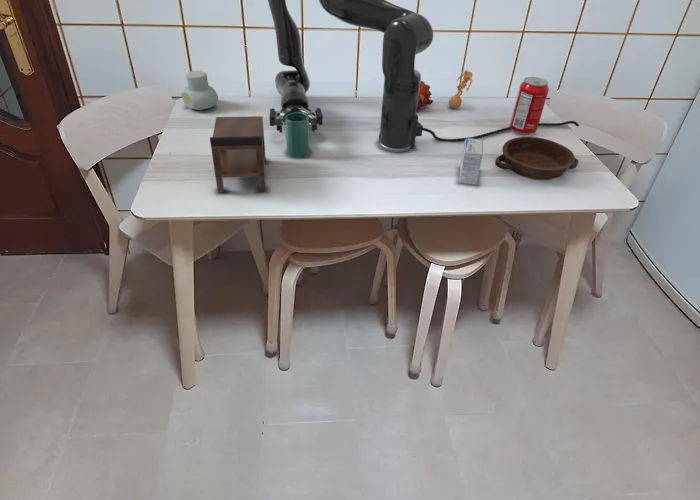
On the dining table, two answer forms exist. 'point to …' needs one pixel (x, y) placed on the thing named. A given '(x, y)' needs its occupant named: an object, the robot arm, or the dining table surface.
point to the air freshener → (198, 91)
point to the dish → (536, 158)
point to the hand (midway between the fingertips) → (297, 128)
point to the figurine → (460, 90)
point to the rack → (238, 149)
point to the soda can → (529, 105)
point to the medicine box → (471, 161)
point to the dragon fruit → (424, 96)
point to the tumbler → (297, 134)
